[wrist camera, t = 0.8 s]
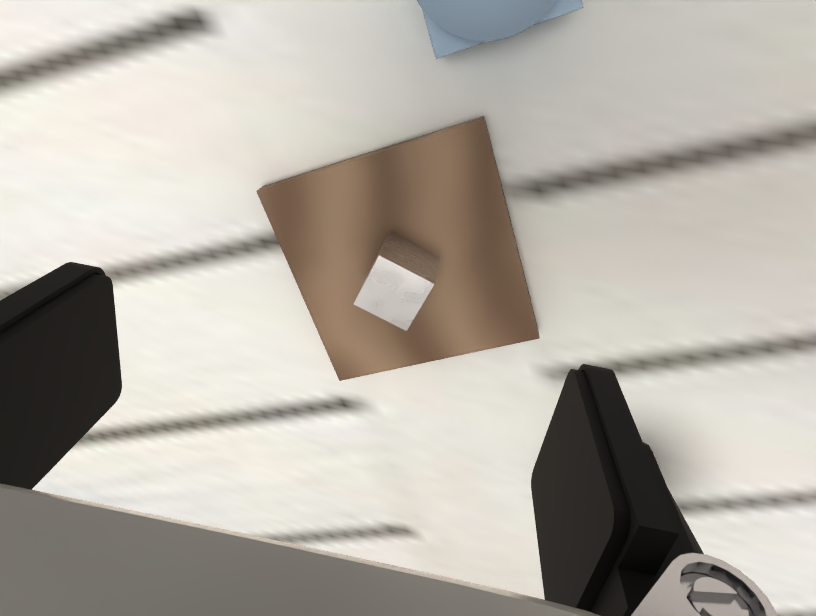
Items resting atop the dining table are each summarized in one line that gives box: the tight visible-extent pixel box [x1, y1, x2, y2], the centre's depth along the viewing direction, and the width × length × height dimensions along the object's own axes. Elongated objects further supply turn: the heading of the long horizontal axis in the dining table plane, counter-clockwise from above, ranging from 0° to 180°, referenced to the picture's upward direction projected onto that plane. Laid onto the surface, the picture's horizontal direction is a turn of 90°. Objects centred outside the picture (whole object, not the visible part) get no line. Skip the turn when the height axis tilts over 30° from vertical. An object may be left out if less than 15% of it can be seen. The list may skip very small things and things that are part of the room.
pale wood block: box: [354, 232, 440, 331], centre depth 32 cm, size 3×3×4 cm
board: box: [257, 116, 539, 381], centre depth 35 cm, size 14×14×1 cm
